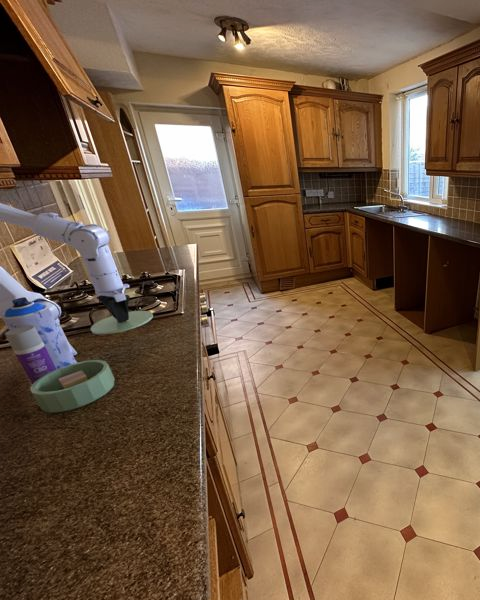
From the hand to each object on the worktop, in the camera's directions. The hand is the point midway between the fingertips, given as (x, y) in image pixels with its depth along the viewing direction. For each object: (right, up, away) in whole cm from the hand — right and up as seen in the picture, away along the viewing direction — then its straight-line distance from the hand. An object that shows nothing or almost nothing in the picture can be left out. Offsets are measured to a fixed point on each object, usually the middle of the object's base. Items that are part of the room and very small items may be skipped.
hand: (122, 319), depth 89 cm
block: (+4, -16, -16) cm, 22 cm away
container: (-7, -15, -12) cm, 21 cm away
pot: (+4, -16, -15) cm, 23 cm away
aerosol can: (-11, -13, -7) cm, 18 cm away
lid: (0, -1, 0) cm, 1 cm away
